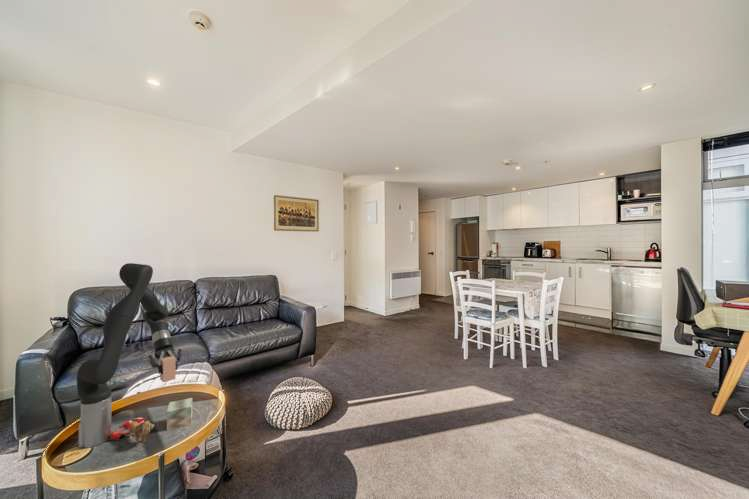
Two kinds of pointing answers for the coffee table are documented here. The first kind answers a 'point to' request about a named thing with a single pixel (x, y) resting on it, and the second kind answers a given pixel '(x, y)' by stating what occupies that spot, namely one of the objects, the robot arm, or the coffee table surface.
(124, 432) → the race car
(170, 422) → the sage green base block
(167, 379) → the terracotta brick
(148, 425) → the lion figurine
